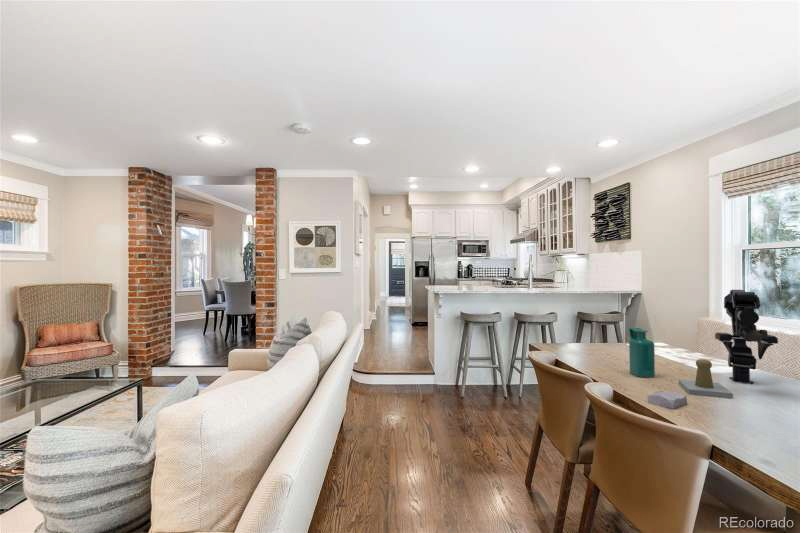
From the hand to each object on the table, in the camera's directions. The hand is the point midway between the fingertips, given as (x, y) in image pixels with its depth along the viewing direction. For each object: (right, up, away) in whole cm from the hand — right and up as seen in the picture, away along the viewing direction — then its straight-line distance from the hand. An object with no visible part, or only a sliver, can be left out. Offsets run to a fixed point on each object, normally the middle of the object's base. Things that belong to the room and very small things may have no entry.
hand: (745, 358), depth 153 cm
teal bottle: (-29, -14, +23) cm, 39 cm away
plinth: (-19, -13, -2) cm, 23 cm away
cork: (-19, -11, -2) cm, 22 cm away
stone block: (-44, -14, -14) cm, 48 cm away
